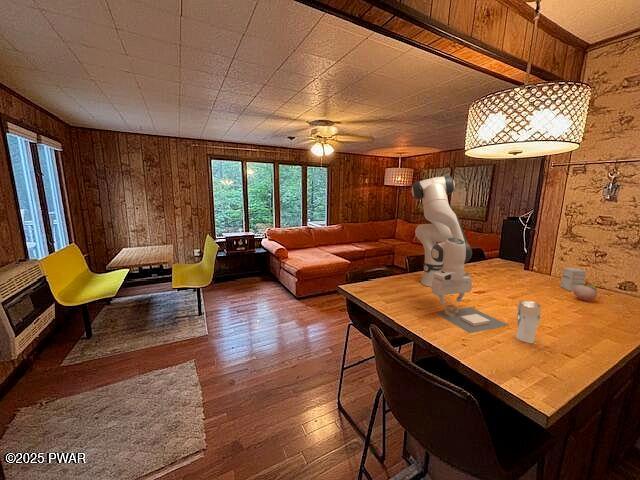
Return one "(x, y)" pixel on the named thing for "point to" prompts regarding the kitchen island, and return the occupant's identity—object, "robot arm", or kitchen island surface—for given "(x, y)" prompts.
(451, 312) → the beech cube
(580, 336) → the kitchen island surface
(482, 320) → the tile
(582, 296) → the decorative fruit
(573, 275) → the supplement box
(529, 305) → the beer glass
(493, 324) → the mat
